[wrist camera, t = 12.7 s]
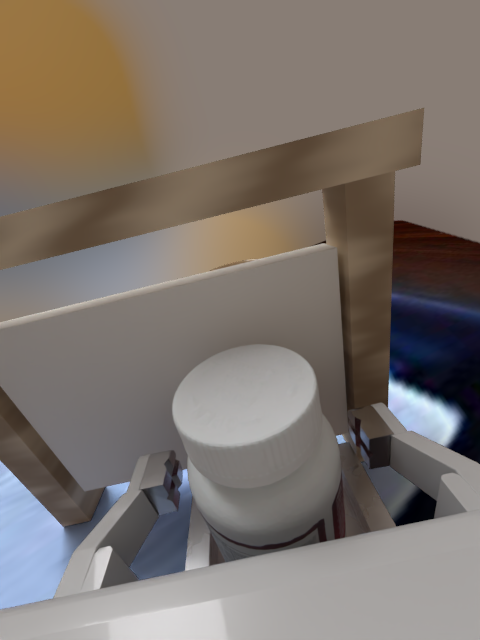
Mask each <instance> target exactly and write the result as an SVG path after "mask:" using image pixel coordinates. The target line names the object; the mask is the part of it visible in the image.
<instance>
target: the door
mask: <svg viewBox="0 0 480 640" xmlns="http://www.w3.org/2000/svg"><path fill="white" fill-rule="evenodd" d="M255 344H265V345H274V346H280V347H284V348H287V349H289V350H292V351H294V352H296V353H298V354H299V355H301V356H302V357H303V358H304V359H306V360H307V362H308V363H309V364H310V366H311V367H312V368H313V370H314V372H315V375H316V378H317V382H318V389H319V398H320V405H321V410H322V413H323V415H324V416H325V417H326V419H327V420H328V421H329V423H330V425H331V427H332V428H333V431H334V433H335V435H336V436H337V435H341V434H346V433H348V418H347V402H346V386H345V369H344V353H343V337H342V320H341V304H340V288H339V271H338V255H337V247H334V246H330V245H327V244H324V243H323V244H319V245H315V246H311V247H307V248H303V249H299V250H295V251H291V252H287V253H282V254H278V255H275V256H270V257H266V258H262V259H258V260H254V261H250V262H246V263H242V264H237V265H233V266H229V267H225V268H221V269H217V270H213V271H209V272H205V273H201V274H197V275H193V276H188V277H185V278H181V279H176V280H173V281H168V282H164V283H160V284H156V285H152V286H148V287H143V288H139V289H135V290H131V291H128V292H123V293H119V294H115V295H111V296H107V297H103V298H99V299H95V300H90V301H86V302H82V303H78V304H74V305H70V306H66V307H62V308H58V309H54V310H50V311H46V312H41V313H37V314H33V315H29V316H25V317H21V318H17V319H13V320H9V321H5V322H1V323H0V386H1V388H2V389H3V390H4V391H5V393H6V394H7V395H8V396H9V398H10V399H11V400H12V401H13V403H14V404H15V405H16V406H17V408H18V409H19V410H20V411H21V413H22V414H23V415H24V416H25V418H26V419H27V420H28V421H29V423H30V424H31V425H32V426H33V428H34V429H35V430H36V431H37V433H38V434H39V435H40V436H41V438H42V439H43V440H44V441H45V443H46V444H47V445H48V446H49V448H50V449H51V450H52V451H53V453H54V454H55V455H56V456H57V458H58V459H59V460H60V461H61V463H62V464H63V465H64V466H65V468H66V469H67V470H68V471H69V473H70V474H71V475H72V476H73V478H74V479H75V480H76V481H77V483H78V484H79V485H80V486H81V488H82V489H83V490H84V491H89V490H94V489H98V488H103V487H107V486H112V485H116V484H121V483H125V482H130V481H131V479H132V476H133V473H134V470H135V467H136V464H137V461H138V459H139V458H140V456H144V455H149V454H153V453H159V452H164V451H169V450H174V452H175V453H176V458H175V459H176V460H178V461H180V463H181V466H182V470H184V469H187V461H188V454H187V452H186V450H185V448H184V444H183V441H182V439H181V437H180V435H179V433H178V430H177V428H176V426H175V423H174V420H173V415H172V405H173V399H174V396H175V393H176V391H177V389H178V387H179V385H180V383H181V382H182V381H183V379H184V378H185V377H186V376H187V375H188V374H189V373H190V372H191V371H192V370H193V369H194V368H195V367H196V366H198V365H199V364H200V363H202V362H203V361H205V360H206V359H208V358H210V357H212V356H214V355H216V354H218V353H220V352H223V351H226V350H228V349H232V348H236V347H240V346H245V345H255Z"/></svg>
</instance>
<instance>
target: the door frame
mask: <svg viewBox="0 0 480 640" xmlns="http://www.w3.org/2000/svg"><path fill="white" fill-rule="evenodd" d="M423 116H424V108H421V109H417V110H413V111H410V112H406V113H402V114H398V115H394V116H390V117H387V118H383V119H379V120H374V121H371V122H367V123H363V124H359V125H355V126H351V127H348V128H343V129H340V130H336V131H332V132H328V133H324V134H320V135H316V136H313V137H308V138H305V139H301V140H297V141H293V142H289V143H285V144H282V145H277V146H274V147H270V148H266V149H262V150H258V151H255V152H250V153H246V154H242V155H239V156H235V157H231V158H227V159H223V160H219V161H215V162H211V163H208V164H204V165H200V166H196V167H192V168H189V169H184V170H180V171H176V172H173V173H169V174H165V175H161V176H157V177H154V178H149V179H146V180H142V181H138V182H134V183H130V184H126V185H123V186H119V187H114V188H110V189H107V190H103V191H99V192H96V193H91V194H87V195H83V196H80V197H76V198H72V199H68V200H64V201H60V202H56V203H53V204H48V205H45V206H41V207H37V208H33V209H29V210H25V211H21V212H17V213H13V214H10V215H6V216H2V217H0V270H2V269H6V268H10V267H14V266H18V265H22V264H26V263H30V262H34V261H38V260H42V259H46V258H50V257H54V256H58V255H62V254H66V253H70V252H74V251H78V250H82V249H86V248H90V247H94V246H98V245H102V244H106V243H110V242H114V241H118V240H122V239H126V238H130V237H134V236H138V235H142V234H146V233H150V232H153V231H157V230H162V229H166V228H170V227H174V226H178V225H182V224H185V223H189V222H194V221H198V220H202V219H206V218H210V217H214V216H218V215H221V214H225V213H229V212H233V211H237V210H241V209H245V208H249V207H253V206H257V205H261V204H265V203H269V202H273V201H277V200H281V199H285V198H289V197H293V196H297V195H301V194H305V193H309V192H313V191H317V190H321V189H322V193H323V204H324V217H325V231H326V244H327V245H330V246H334V247H337V255H338V271H339V288H340V304H341V320H342V337H343V353H344V369H345V386H346V402H347V418H348V423H349V422H350V419H349V417H348V410H351V409H355V408H359V407H363V406H368V405H373V404H377V403H381V402H382V403H383V404H385V405H386V407H387V408H388V385H389V353H390V320H391V287H392V254H393V221H394V187H395V171H397V170H401V169H405V168H409V167H413V166H416V165H420V162H421V147H422V132H423ZM342 436H343V437H344V439H345V441H346V442H350V444H351V446H352V448H353V449H354V451H355V453H356V455H357V457H358V458H359V460H360V462H362V461H365V460H364V459H363V457H362V455H361V448H359V447H357V446H356V445H355V443H354V441H353V439H352V437H351V435H350V431H349V426H348V433H346V434H342ZM0 460H1V462H2V463H3V464H4V465H5V466H6V467H7V468H8V469H9V470H10V471H11V472H12V473H13V474H14V475H15V476H16V477H17V478H18V479H19V480H20V482H21V483H22V484H23V485H24V486H25V487H26V488H27V489H28V490H29V491H30V492H31V493H32V494H33V495H34V496H35V497H36V498H37V499H38V500H39V502H40V503H41V504H42V505H43V506H44V507H45V508H46V509H47V510H48V511H49V512H50V513H51V514H52V515H53V516H54V517H55V518H56V519H57V520H58V522H59V523H60V524H61V525H62V526H63V527H64V526H69V525H74V524H78V523H83V522H87V521H91V519H92V516H93V514H94V512H95V509H96V507H97V505H98V502H99V500H100V497H101V495H102V493H103V490H104V488H105V487H103V488H98V489H94V490H89V491H84V490H83V489H82V488H81V486H80V485H79V484H78V483H77V481H76V480H75V479H74V478H73V476H72V475H71V474H70V473H69V471H68V470H67V469H66V468H65V466H64V465H63V464H62V463H61V461H60V460H59V459H58V458H57V456H56V455H55V454H54V453H53V451H52V450H51V449H50V448H49V446H48V445H47V444H46V443H45V441H44V440H43V439H42V438H41V436H40V435H39V434H38V433H37V431H36V430H35V429H34V428H33V426H32V425H31V424H30V423H29V421H28V420H27V419H26V418H25V416H24V415H23V414H22V413H21V411H20V410H19V409H18V408H17V406H16V405H15V404H14V403H13V401H12V400H11V399H10V398H9V396H8V395H7V394H6V393H5V391H4V390H3V389H2V388H1V386H0Z"/></svg>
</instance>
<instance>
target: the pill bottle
mask: <svg viewBox="0 0 480 640" xmlns="http://www.w3.org/2000/svg"><path fill="white" fill-rule="evenodd" d="M172 415H173V420H174V423H175V426H176V428H177V430H178V433H179V435H180V437H181V439H182V441H183V444H184V448H185V450H186V452H187V454H188V461H187V471H188V481H189V485H190V489H191V492H192V495H193V498H194V500H195V504H196V506H197V508H198V510H199V511H200V513H201V515H202V517H203V519H204V520H205V522H206V524H207V526H208V528H209V530H210V532H211V534H212V536H213V538H214V540H215V541H216V543H217V545H218V547H219V550H220V552H221V554H222V556H223V558H224V559H225V561H226V562H230V561H235V560H239V559H244V558H249V557H254V556H258V555H263V554H268V553H273V552H277V551H282V550H287V549H292V548H297V547H301V546H306V545H311V544H316V543H321V542H325V541H330V540H335V539H340V538H345V537H347V534H346V522H345V508H344V495H343V481H342V468H341V458H340V451H339V446H338V442H337V438H336V435H335V433H334V431H333V428H332V427H331V425H330V423H329V421H328V420H327V419H326V417H325V416H324V415H323V413H322V410H321V405H320V398H319V389H318V382H317V378H316V375H315V372H314V370H313V368H312V367H311V366H310V364H309V363H308V362H307V360H306V359H304V358H303V357H302V356H301V355H299V354H298V353H296V352H294V351H292V350H289V349H287V348H284V347H280V346H274V345H265V344H255V345H245V346H240V347H236V348H232V349H228V350H226V351H223V352H220V353H218V354H216V355H214V356H212V357H210V358H208V359H206V360H205V361H203V362H202V363H200V364H199V365H198V366H196V367H195V368H194V369H193V370H192V371H191V372H190V373H189V374H188V375H187V376H186V377H185V378H184V379H183V381H182V382H181V383H180V385H179V387H178V389H177V391H176V393H175V396H174V399H173V405H172Z"/></svg>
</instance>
